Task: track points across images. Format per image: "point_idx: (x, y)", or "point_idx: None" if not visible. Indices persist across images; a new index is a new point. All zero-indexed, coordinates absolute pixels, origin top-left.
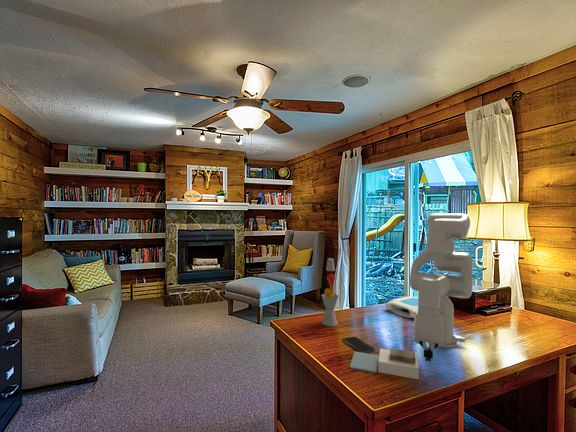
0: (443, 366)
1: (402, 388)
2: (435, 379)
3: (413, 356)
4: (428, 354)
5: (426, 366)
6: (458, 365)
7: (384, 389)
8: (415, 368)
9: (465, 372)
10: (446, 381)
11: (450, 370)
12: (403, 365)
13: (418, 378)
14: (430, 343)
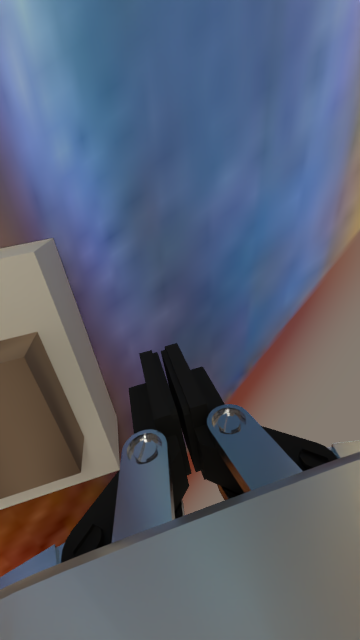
0: (234, 160)
1: (73, 515)
2: (192, 366)
3: (52, 452)
4: (179, 417)
5: (125, 234)
6: (336, 70)
7: (11, 562)
8: (99, 472)
9: (351, 179)
10: (240, 353)
11: (272, 203)
12: (19, 500)
13: (116, 421)
14: (238, 480)
